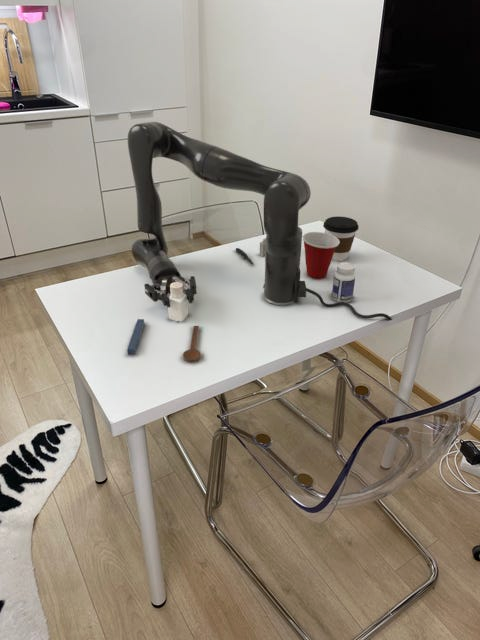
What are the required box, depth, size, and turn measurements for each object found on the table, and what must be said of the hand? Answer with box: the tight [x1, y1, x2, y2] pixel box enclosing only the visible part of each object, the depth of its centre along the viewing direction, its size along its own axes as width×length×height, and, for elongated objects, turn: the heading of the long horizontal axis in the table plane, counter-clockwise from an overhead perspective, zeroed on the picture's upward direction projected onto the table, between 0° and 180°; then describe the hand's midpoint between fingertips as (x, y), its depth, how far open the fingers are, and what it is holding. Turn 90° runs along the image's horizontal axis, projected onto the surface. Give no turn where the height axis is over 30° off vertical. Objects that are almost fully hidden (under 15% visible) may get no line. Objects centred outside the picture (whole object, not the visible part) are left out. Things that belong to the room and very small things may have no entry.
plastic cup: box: [302, 231, 340, 280], centre depth 144 cm, size 11×11×12 cm
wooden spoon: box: [182, 325, 202, 364], centre depth 116 cm, size 4×14×1 cm, turn 0°
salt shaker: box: [167, 282, 189, 322], centre depth 124 cm, size 4×4×10 cm
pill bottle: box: [331, 261, 356, 303], centre depth 133 cm, size 6×6×10 cm
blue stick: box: [126, 318, 145, 356], centre depth 118 cm, size 2×13×2 cm, turn 0°
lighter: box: [259, 237, 266, 257], centre depth 159 cm, size 7×2×8 cm, turn 133°
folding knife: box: [235, 247, 254, 265], centre depth 156 cm, size 13×1×2 cm, turn 25°
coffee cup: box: [323, 215, 359, 262], centre depth 155 cm, size 11×11×12 cm
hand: (180, 301), depth 121 cm, fingers closed on salt shaker, 5 cm apart
